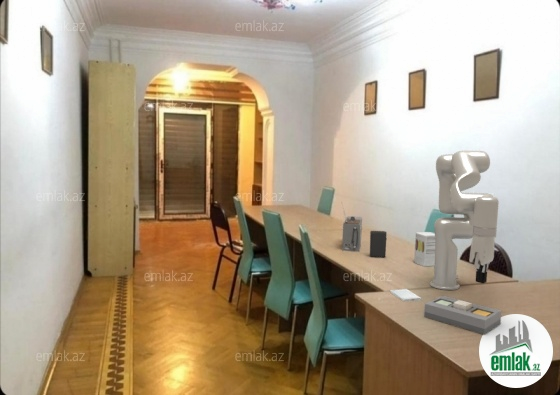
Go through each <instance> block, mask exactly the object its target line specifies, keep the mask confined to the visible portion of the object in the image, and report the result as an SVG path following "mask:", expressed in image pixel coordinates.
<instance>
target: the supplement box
mask: <svg viewBox="0 0 560 395" xmlns="http://www.w3.org/2000/svg"><path fill="white" fill-rule="evenodd" d="M414 242H415V244H414V262H413V263H415V264H416V265H417V264H418V265H420V266H422V267H423V268H425V267H434V265H435V232H432V231H431V232H430V231H423V232H420V231H419V232H415V240H414Z"/></svg>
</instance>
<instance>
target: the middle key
mask: <svg viewBox="0 0 560 395" xmlns="http://www.w3.org/2000/svg"><path fill="white" fill-rule="evenodd" d="M461 300H462V299H458V301H456V302H454V304H453V308H457V309H461V310H464V311H468V310H470V309H471V306H472V303H473V302H470V303H469V301H466V302H465V300H462V301H461Z"/></svg>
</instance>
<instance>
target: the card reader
mask: <svg viewBox="0 0 560 395" xmlns="http://www.w3.org/2000/svg"><path fill="white" fill-rule="evenodd" d="M369 233H370V235H369V239H370V240H369V257H372V258H382V259H383V258H386V253H387V252H386V250H387V240H388V239H387V231H384V230H370V232H369Z"/></svg>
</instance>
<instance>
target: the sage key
mask: <svg viewBox="0 0 560 395" xmlns="http://www.w3.org/2000/svg"><path fill="white" fill-rule="evenodd" d="M436 303H438V304H442V305H446V306H449V305H451V304H453V303H451V302H447V301H443V300H440V301H438V302H436Z"/></svg>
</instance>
